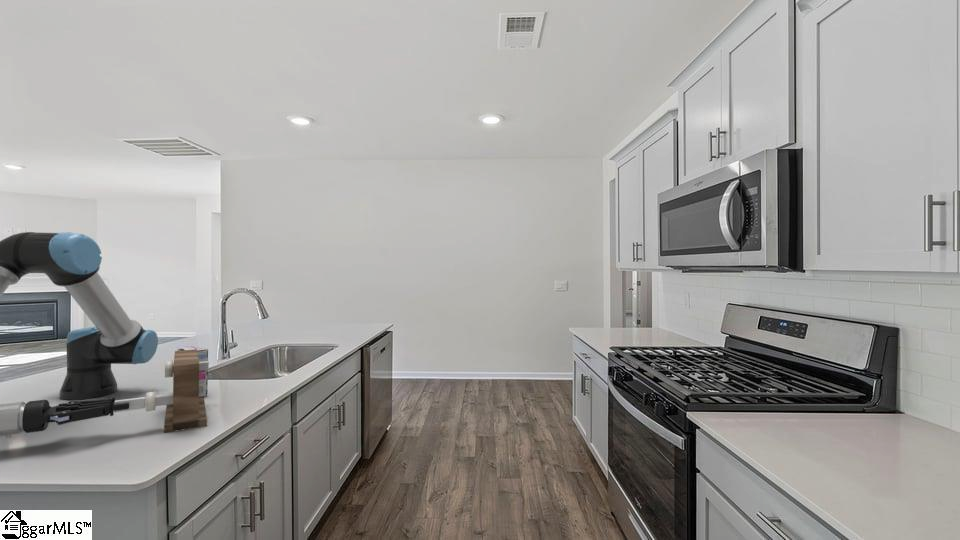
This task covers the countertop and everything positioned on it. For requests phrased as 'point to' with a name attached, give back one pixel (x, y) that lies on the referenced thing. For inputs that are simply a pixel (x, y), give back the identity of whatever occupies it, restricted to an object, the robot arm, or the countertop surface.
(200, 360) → the candy bar box
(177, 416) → the slatted wooden stand
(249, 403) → the countertop surface
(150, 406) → the lower plunger
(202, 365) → the upper plunger
